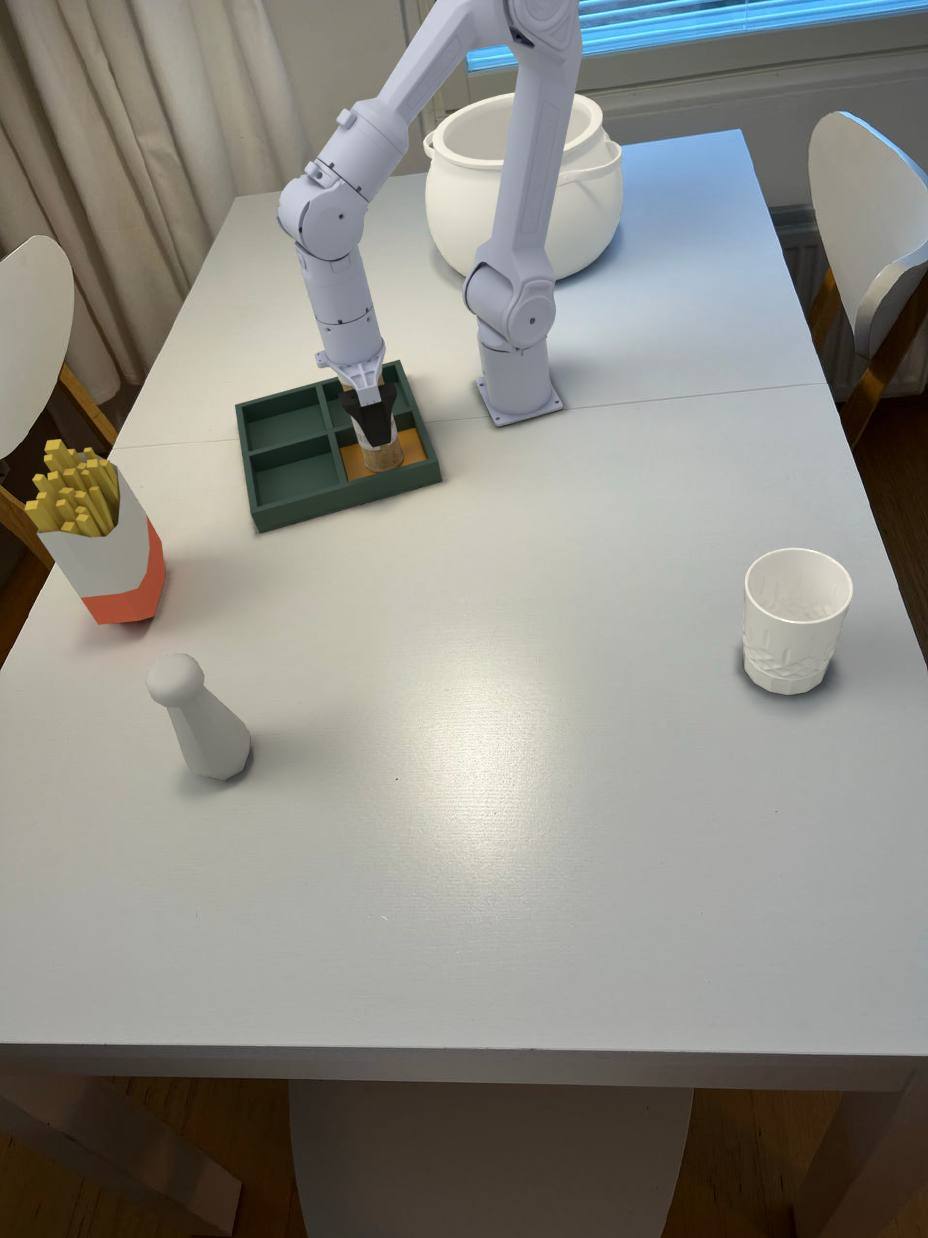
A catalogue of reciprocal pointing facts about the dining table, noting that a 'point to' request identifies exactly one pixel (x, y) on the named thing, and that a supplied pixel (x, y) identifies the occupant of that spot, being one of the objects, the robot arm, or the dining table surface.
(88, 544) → the french fries container
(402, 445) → the tray
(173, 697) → the salt shaker
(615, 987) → the dining table surface
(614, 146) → the pot
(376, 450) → the sprinkles bottle
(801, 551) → the white cup
